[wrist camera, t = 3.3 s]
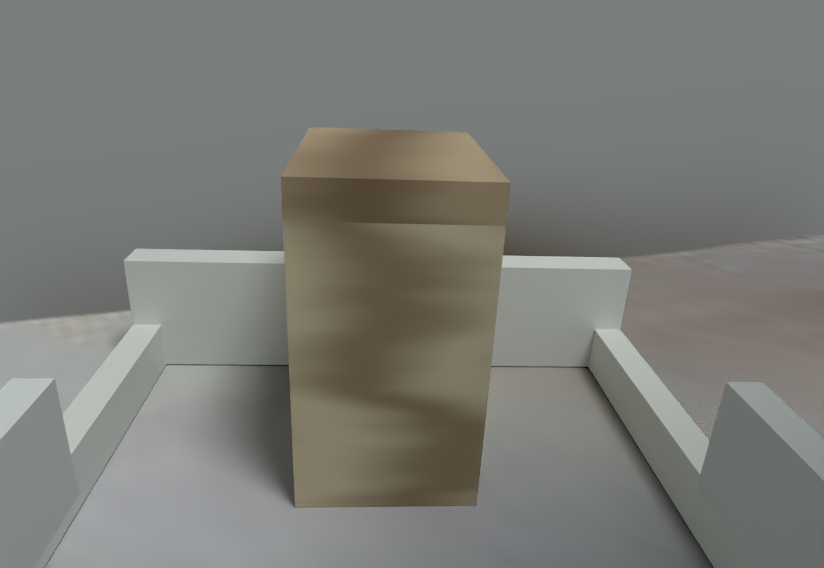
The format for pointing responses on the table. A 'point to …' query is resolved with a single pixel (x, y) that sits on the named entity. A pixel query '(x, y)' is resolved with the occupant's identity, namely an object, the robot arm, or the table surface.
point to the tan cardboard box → (390, 314)
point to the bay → (268, 345)
